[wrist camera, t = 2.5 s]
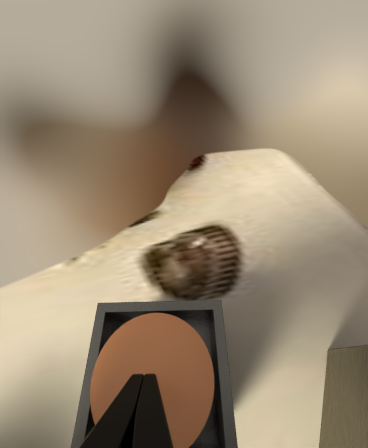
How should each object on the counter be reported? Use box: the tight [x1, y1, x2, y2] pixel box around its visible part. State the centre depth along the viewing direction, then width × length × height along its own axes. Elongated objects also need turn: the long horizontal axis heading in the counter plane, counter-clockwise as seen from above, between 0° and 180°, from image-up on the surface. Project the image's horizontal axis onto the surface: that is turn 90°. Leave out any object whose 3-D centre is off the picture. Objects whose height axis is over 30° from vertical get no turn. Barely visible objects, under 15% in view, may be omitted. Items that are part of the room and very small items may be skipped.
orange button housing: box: [71, 300, 238, 448], centre depth 14 cm, size 7×7×8 cm
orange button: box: [90, 313, 214, 448], centre depth 10 cm, size 5×5×2 cm
